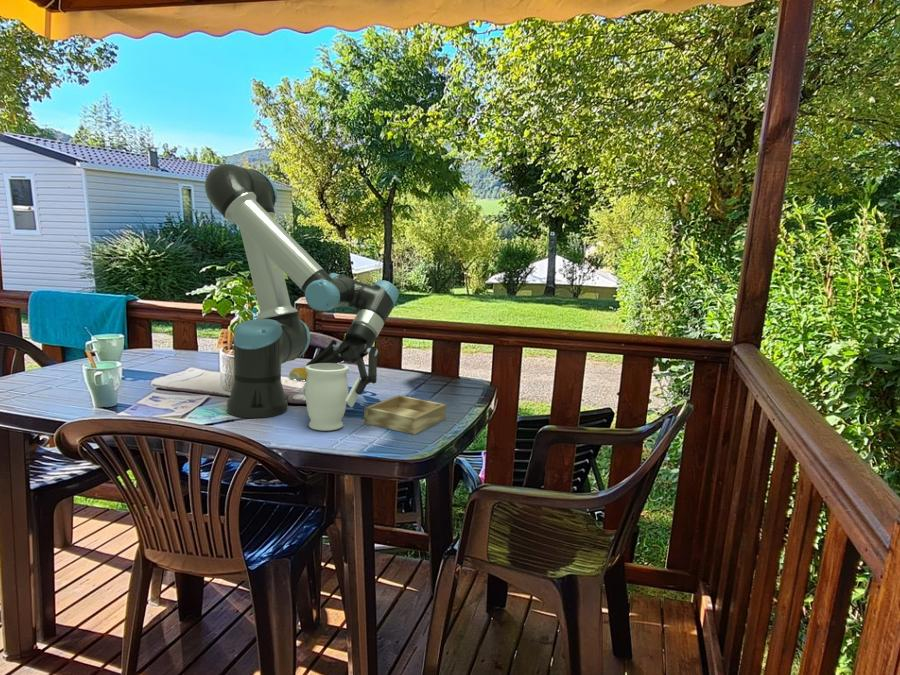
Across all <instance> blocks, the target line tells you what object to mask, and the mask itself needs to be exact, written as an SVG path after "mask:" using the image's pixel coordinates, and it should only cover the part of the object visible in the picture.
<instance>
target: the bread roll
mask: <svg viewBox="0 0 900 675" xmlns="http://www.w3.org/2000/svg"><path fill="white" fill-rule="evenodd" d="M307 375H308V373H307V372H306V366H305V367H296V368H293V369H292V370H290V372H289V376H288V377H289V379H290V378H291V379H296V380H305V379H306V377H307ZM291 379H290V380H291Z"/></svg>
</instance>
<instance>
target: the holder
mask: <svg viewBox="0 0 900 675" xmlns="http://www.w3.org/2000/svg"><path fill="white" fill-rule="evenodd" d="M363 410H364V414H363V423H364V424H367V425H371V426H376V427H380V428H385V429H388V430H393V431H396V432H397V431H398V432H401V433H406V434H410V435H414V436H415V435H417V434H418V433H421V432H423V431H425V430H427V429H429V428H431V427H433V426H434V425H436V424H439V423H441V422H443V421H445V420H446V418H447V417H446V415H447V404H445V403H440V402H436V401H430V400H425V399H420V398H415V397H409V396H405V395H400V394H398V395H396V396H392V397H389V398H388V399H385V400H382V401H379V402H377V403H374V404H373V403H372V404H371V405H368V406H365V407H364V408H363Z"/></svg>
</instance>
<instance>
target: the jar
mask: <svg viewBox="0 0 900 675" xmlns="http://www.w3.org/2000/svg"><path fill="white" fill-rule="evenodd" d="M306 365H307V364H306ZM306 365H305V367H306V372H307V373H308V375H307V378H306V381H305V383H306V384H305V383H304V384H305V396H304V398H305V401H306V410H307V414H308V418H310V421H309V423H308V427H309V428H310V429H312V430H316V431H323V432H324V431H325V432H326V431H335V430H340V429H341V428H342V427H344V422H343V421H342V419H343V417H345V416H344V415H345V412H346V409H347V405H348V404H347V403H346V401H345V400H346V398H347V396H348V394H349V380H348V379H349V378H348V375H347V373H348V372H349V370H350V369H349V366H348V365H347V364H341V363H317V364H311V365H307V366H306Z"/></svg>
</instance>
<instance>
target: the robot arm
mask: <svg viewBox="0 0 900 675" xmlns="http://www.w3.org/2000/svg"><path fill="white" fill-rule="evenodd" d="M204 190H205V194H206V196H207V199H208V201H209V202H210V204H212V206H213V207H214V209H216V211H217V212H218V213H219V214H221V215H222V217H223V218H225V219H226V221H228V222H232V223H233V224H235V225H236V226H237V227H238V228H239V230H240V234H241V239H242V243H243V247H244V251H245V256H246V259H247V262H248V267H249V272H250V277H251V280H252V284H253V288H254V289H253V290H254V293H255V297H256V301H257V305H258V308H259V313H258V315H257V317H256V318H254V319H249V320H244V321H242V322H240V323H238V324H237V325H236V326H235V328H234V336H233V369H234V370H233V375H234V376H233V385H232V386H231V387H232V388H231V390H230V395H229V399H227V402H226V412H227V413H228V414H229V415H230V416H231V415H232V416H233V417H239V418H248V419H249V418H250V419H254V418H255V419H258V418H269V417H274V416H279V415H283V414H284V413H285V412H287V411H288V399H287V397H286V396H285V395H286V394H285V390H284V387H283V384H282V383H283V382H282V379H281V378H282V364H284V363H286V362H291V361H294V360H296V359H298V358H299V357H301V356H302V355H304V354H305V353H306V351H307V350H308V348H309V346H310V342H311V333H310V332H311V331H310V329H309V327H308V325H307V324H306V323H305V322H303V320H302V319H301V318H300V314H299V310H298V309H297V308H295V307H293V306H292V304H291V301H290V295H289V291H288V287H287V284H286V279H285V275H287V277H288V278H290V279H291V281H292V282H293V283H294V284H295V285H296V286H297V287H299V289H300V290H301V291H302V292H303V293H304V298H305V302H306V303H307V305H308V307H310V308H312V309H313V310H315V311H320V312H321V311H323V312H325V311H330V310H333V309H336V308H341V307H342V308H343V307H347V308H351V309H353V310H356V311H358V312H357V314H355V317H354V318H353V320H352V322H351V325H350V326H349V328H348V329H347V331H346V333H345V335H344V339H343V340H342V342H341V343H339V342H337V341H336V340H335V339H332V340H331V341H330V343H328V345H327V346H326V347H325V348H324V349H322V351H321V352H319V353H318V354H317V355H316V356H315V357H313V358H312V359H311V360H310V361H309V362H307V363H306V365H305V367H306V366H307V365H311V364H317V363H336V364H339V363H342V362H351V363H353V364H355V363H356V364H357V365H356V366H357V369H358V372H359V377H357V378H356V379H355V381H354V383H353V385H352V387H351V389H350V391H348V396H347V398H346V400H345V401H346V403H347V404H346V405H348V407H350V408H353V407H354V405H355V403H356V401H357V399H358V398H359V396H360V395H362V394H363V392H364V391H365V389H366V387H367V385H369V384H373V385H374V384H376V383H377V380H378V379H377V378H378V377H377V375H378V374H377V373H378V368H377V364H378V362H377V360H378V358H379V355H380V352H379V350H378V349H377V347H376V346H375V345H374V344H375V342H376V341H377V337H378V336H379V334H380V333H381V330H383V328H384V325H385V323H386V321H387V319H388V318H389V316H390V314H391V313H392V310H393V309H394V308H395V305H396V303H397V300H398V298H399V296H400V294H399V290H398V288H397V287H396V286H395V285H394V284H393V283H391V282H390V281H387V280H381V279H379V280H377V281H376V282H374V284H373V285H371V284H368V283H365V282H362V281H358V280H356V279H353V278H351V277H349V276H346V275H345V274H339V273H336V272H331V273H328V272H326V271H325V270H324V268H323V267H321V265H320V264H319V263H318V262H317V261H316V260H315V259H314V258H313V257H312V256H311V255H310V254H309V253H308V252H307V251H306V250H305V249H304V248H303V247H302V246H301V245H300V244H299V243H298V242H297V241H296V240H295V239H294V238H293V237H292V235H290V234H289V233H288V232H287V231H286V230H285V229H284V228H283V227H282V226H281V224H279V222H278V221H276V220H275V217H276V211H275V204H276V203H277V200H278V191H277V188H276V185H275V183H274V182H273V180H272V179H271V178H270V177H269V176H268V175H267V174H265V173H263V172H261V171H259V170H258V169H253V168H246V167H244V166H243V167H242V166H239V165H237V164H231V163H224V164H223V163H222V164H220V165H217V166H215V167H214V168H212V169H211V170H210V171H209V173H208V174H207V175H206V178H205V182H204ZM272 266H276V267H272ZM277 267H279V268H280V269H279V268H277ZM274 270H275V271H274ZM281 271H282V272H281ZM284 273H285V274H284ZM339 355H340V356H339ZM366 356H368V364H367V366H368V367H367V368H368V369H366V366H365V365H366V364H365V361H364V357H366ZM367 371H368V372H367ZM306 378H307V377H306ZM305 384H306V379H305V381H304V384H303V385H302V388H301V389H300V391H299V392H300V393H301V394H302V395H303V397H305Z"/></svg>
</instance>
